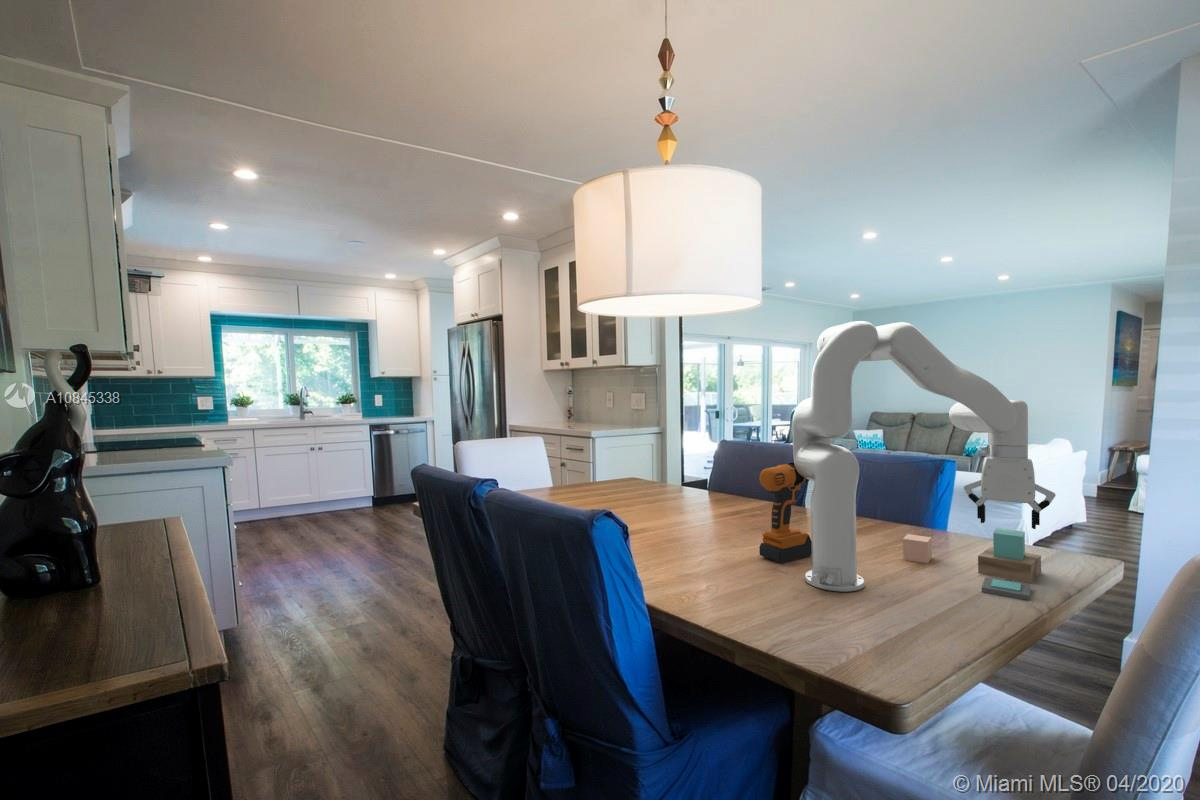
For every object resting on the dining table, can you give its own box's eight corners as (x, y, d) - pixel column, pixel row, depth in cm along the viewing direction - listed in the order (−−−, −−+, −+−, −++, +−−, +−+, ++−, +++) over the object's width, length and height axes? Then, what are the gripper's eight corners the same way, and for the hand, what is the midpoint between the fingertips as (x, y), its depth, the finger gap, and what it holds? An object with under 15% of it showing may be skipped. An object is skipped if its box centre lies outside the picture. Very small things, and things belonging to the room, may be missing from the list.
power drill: (807, 545, 155) (805, 457, 155) (830, 551, 149) (828, 460, 149) (753, 559, 144) (751, 464, 144) (776, 566, 138) (774, 467, 137)
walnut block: (1031, 585, 122) (1030, 565, 122) (978, 574, 130) (977, 555, 129) (1041, 574, 128) (1040, 555, 128) (990, 564, 136) (990, 546, 136)
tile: (1029, 600, 112) (1029, 594, 112) (981, 592, 118) (981, 586, 118) (1030, 588, 119) (1029, 582, 119) (985, 581, 124) (985, 575, 124)
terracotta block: (927, 563, 137) (927, 542, 137) (903, 559, 141) (903, 538, 141) (931, 558, 141) (931, 537, 141) (907, 554, 145) (907, 534, 145)
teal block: (1023, 560, 125) (1022, 536, 125) (993, 556, 129) (993, 533, 129) (1024, 554, 129) (1024, 531, 129) (996, 550, 133) (996, 527, 133)
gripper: (961, 451, 131) (962, 522, 131) (1055, 456, 120) (1055, 533, 120) (965, 448, 137) (965, 516, 137) (1055, 453, 126) (1055, 527, 126)
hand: (1007, 524), depth 129 cm, fingers open, 9 cm apart
